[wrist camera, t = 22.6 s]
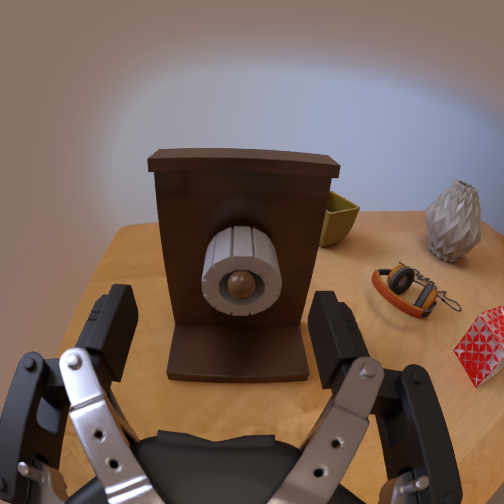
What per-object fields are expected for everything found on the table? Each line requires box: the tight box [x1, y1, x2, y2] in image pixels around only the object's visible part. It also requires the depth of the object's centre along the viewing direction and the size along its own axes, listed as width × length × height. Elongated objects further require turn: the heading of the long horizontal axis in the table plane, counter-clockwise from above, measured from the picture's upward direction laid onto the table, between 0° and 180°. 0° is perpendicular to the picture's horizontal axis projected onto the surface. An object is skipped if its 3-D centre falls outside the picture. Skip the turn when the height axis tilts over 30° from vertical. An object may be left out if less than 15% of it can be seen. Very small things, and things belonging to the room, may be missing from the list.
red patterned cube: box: [454, 305, 504, 388], centre depth 26 cm, size 8×8×8 cm
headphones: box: [372, 262, 461, 318], centre depth 40 cm, size 17×5×20 cm
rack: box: [148, 148, 340, 383], centre depth 26 cm, size 16×10×23 cm, turn 93°
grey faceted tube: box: [202, 226, 282, 316], centre depth 25 cm, size 7×5×7 cm
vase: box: [426, 180, 481, 263], centre depth 50 cm, size 16×16×18 cm
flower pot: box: [319, 191, 360, 247], centre depth 54 cm, size 9×9×9 cm
